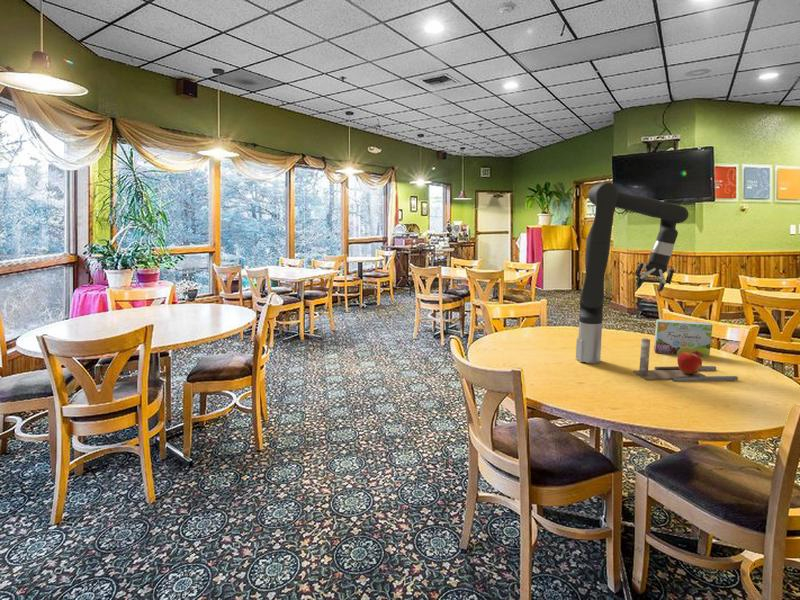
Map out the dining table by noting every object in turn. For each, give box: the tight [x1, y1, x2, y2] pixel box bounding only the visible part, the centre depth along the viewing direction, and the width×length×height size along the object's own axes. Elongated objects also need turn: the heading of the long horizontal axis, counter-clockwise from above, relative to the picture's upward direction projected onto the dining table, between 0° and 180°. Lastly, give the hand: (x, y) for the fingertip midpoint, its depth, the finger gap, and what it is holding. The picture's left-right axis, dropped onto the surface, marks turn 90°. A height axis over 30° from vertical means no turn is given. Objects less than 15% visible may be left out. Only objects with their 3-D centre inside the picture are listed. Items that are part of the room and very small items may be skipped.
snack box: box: [653, 318, 713, 358], centre depth 211 cm, size 21×6×15 cm, turn 68°
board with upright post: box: [632, 338, 706, 381], centre depth 182 cm, size 24×10×15 cm, turn 89°
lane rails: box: [653, 365, 739, 382], centre depth 183 cm, size 24×14×2 cm, turn 89°
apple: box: [676, 350, 703, 374], centre depth 182 cm, size 8×8×10 cm
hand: (648, 289), depth 202 cm, fingers open, 8 cm apart
